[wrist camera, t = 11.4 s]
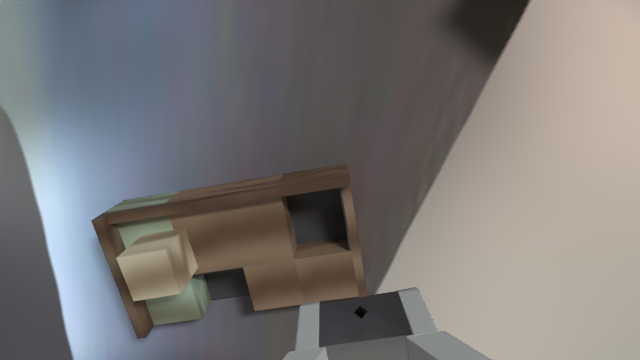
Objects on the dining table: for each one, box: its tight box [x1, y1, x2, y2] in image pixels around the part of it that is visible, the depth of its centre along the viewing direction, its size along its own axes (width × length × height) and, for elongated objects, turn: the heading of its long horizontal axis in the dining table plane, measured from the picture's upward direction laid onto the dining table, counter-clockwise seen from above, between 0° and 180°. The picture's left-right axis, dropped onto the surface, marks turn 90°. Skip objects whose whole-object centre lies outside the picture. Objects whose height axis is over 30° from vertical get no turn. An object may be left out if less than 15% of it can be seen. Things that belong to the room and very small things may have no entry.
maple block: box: [116, 228, 198, 301], centre depth 36 cm, size 5×5×5 cm
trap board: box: [91, 164, 367, 338], centre depth 40 cm, size 15×27×6 cm, turn 100°
